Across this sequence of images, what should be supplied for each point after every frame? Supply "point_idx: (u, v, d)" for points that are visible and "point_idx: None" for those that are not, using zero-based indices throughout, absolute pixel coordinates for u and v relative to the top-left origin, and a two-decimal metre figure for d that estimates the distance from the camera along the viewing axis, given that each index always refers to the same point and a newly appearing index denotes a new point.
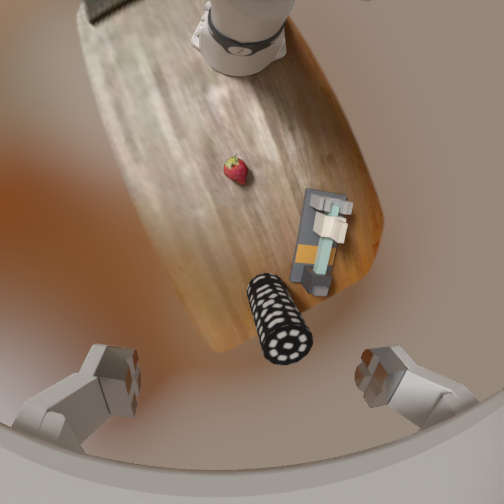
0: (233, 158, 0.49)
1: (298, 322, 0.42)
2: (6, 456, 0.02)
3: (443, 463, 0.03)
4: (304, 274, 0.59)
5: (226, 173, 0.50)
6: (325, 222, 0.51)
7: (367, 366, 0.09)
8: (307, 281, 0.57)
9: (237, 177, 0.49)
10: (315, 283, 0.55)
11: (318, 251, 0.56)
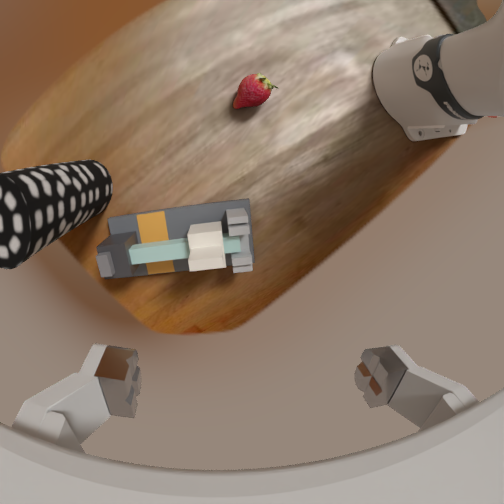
0: (270, 83, 0.31)
1: (36, 224, 0.17)
2: (6, 456, 0.02)
3: (443, 463, 0.03)
4: (123, 235, 0.35)
5: (246, 77, 0.30)
6: (211, 234, 0.32)
7: (367, 366, 0.09)
8: (113, 240, 0.33)
9: (244, 90, 0.30)
10: (113, 253, 0.32)
11: (162, 241, 0.35)
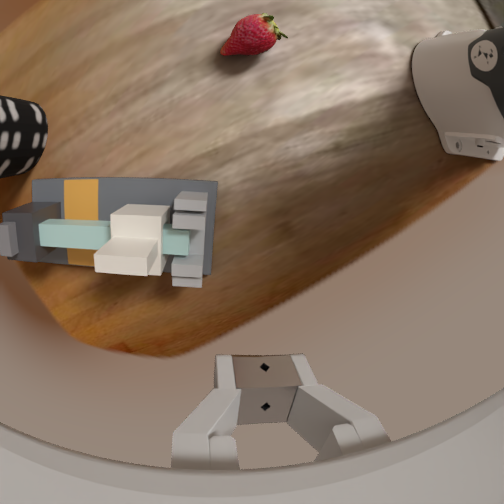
0: (277, 29, 0.19)
1: None
2: (6, 456, 0.02)
3: (443, 463, 0.03)
4: (42, 204, 0.22)
5: (247, 16, 0.18)
6: (144, 220, 0.19)
7: None
8: (25, 208, 0.19)
9: (239, 29, 0.18)
10: (19, 225, 0.18)
11: (84, 221, 0.21)
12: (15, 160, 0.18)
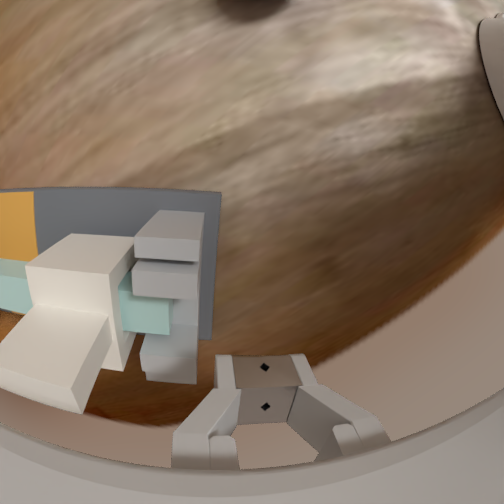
0: None
1: None
2: (6, 456, 0.02)
3: (443, 463, 0.03)
4: None
5: None
6: (80, 280, 0.09)
7: None
8: None
9: None
10: None
11: (8, 262, 0.11)
12: None
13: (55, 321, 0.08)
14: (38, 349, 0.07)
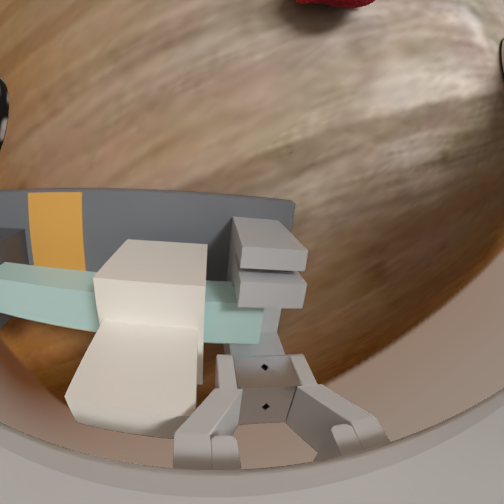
0: None
1: None
2: (6, 456, 0.02)
3: (443, 463, 0.03)
4: None
5: None
6: (168, 293, 0.09)
7: None
8: None
9: None
10: None
11: (57, 272, 0.11)
12: None
13: (138, 339, 0.08)
14: (132, 375, 0.07)
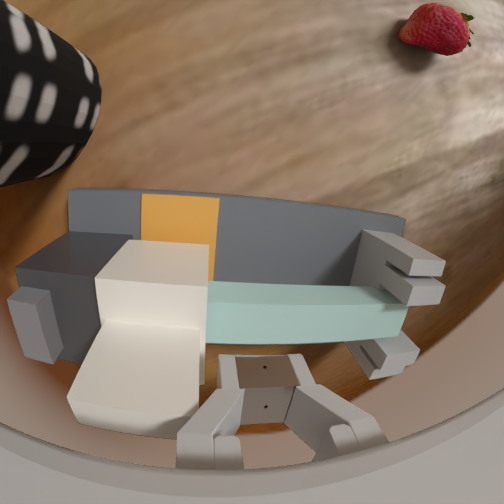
0: None
1: None
2: (6, 456, 0.02)
3: (443, 463, 0.03)
4: (97, 240, 0.12)
5: (434, 3, 0.09)
6: (170, 294, 0.09)
7: None
8: (66, 254, 0.10)
9: (439, 17, 0.09)
10: (60, 299, 0.09)
11: (210, 285, 0.12)
12: (39, 149, 0.09)
13: (140, 340, 0.08)
14: (134, 376, 0.07)
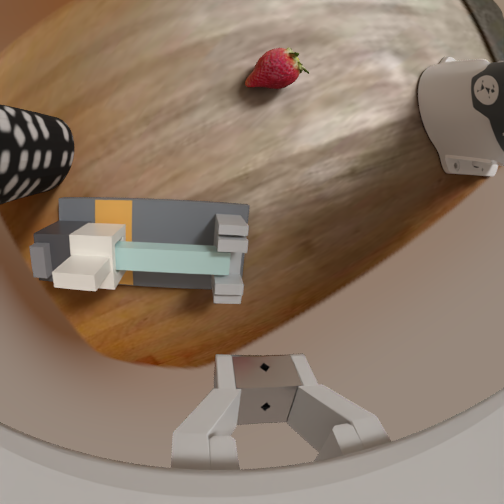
0: (300, 64, 0.22)
1: None
2: (6, 456, 0.02)
3: (443, 463, 0.03)
4: (73, 223, 0.23)
5: (272, 50, 0.21)
6: (97, 240, 0.20)
7: None
8: (57, 228, 0.21)
9: (266, 63, 0.21)
10: (53, 247, 0.20)
11: (122, 242, 0.23)
12: (45, 179, 0.20)
13: (84, 259, 0.19)
14: (78, 267, 0.18)
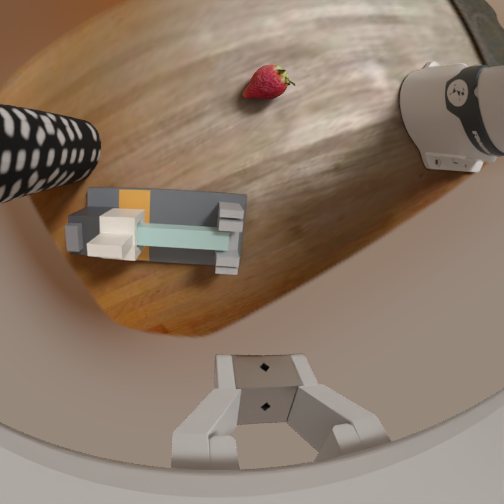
0: (288, 78, 0.27)
1: (0, 167, 0.12)
2: (6, 456, 0.02)
3: (443, 463, 0.03)
4: (100, 208, 0.30)
5: (264, 66, 0.27)
6: (123, 220, 0.26)
7: None
8: (88, 212, 0.28)
9: (258, 79, 0.26)
10: (85, 226, 0.26)
11: (142, 223, 0.30)
12: (78, 172, 0.26)
13: (112, 235, 0.26)
14: (107, 240, 0.24)
